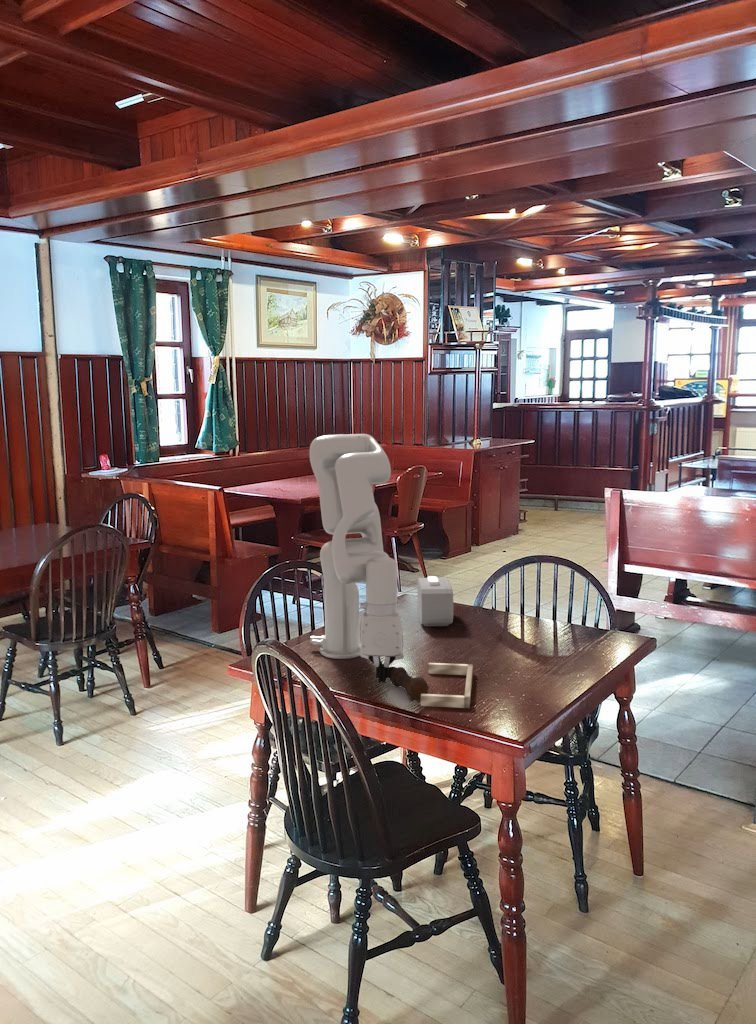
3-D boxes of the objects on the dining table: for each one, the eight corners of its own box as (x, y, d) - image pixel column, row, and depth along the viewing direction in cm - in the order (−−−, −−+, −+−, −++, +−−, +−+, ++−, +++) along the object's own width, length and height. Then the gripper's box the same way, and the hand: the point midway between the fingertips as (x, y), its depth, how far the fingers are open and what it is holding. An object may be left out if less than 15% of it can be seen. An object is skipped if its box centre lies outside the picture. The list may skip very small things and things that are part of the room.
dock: (420, 705, 189) (420, 695, 188) (428, 671, 210) (428, 662, 210) (469, 708, 187) (469, 697, 187) (472, 673, 209) (472, 664, 208)
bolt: (393, 685, 206) (421, 704, 193) (377, 679, 204) (405, 697, 190) (403, 664, 207) (432, 682, 193) (387, 657, 204) (415, 674, 191)
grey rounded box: (453, 630, 245) (453, 587, 243) (421, 630, 245) (421, 587, 243) (446, 611, 266) (446, 571, 264) (417, 611, 266) (417, 571, 263)
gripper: (348, 611, 195) (349, 685, 198) (410, 613, 193) (411, 687, 196) (354, 603, 203) (355, 674, 205) (414, 605, 200) (414, 676, 203)
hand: (382, 680), depth 201 cm, fingers closed
